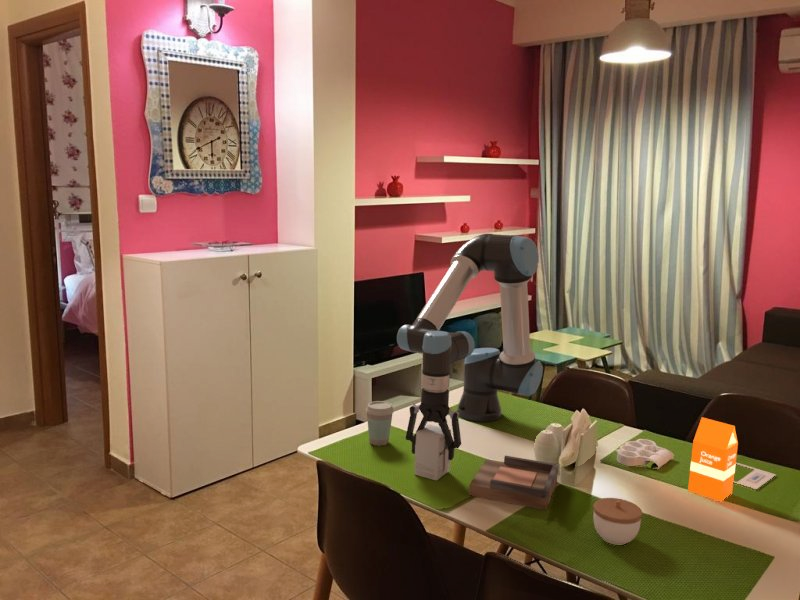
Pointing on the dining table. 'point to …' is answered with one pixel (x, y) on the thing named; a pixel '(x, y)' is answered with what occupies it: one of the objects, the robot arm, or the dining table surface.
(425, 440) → the supplement box
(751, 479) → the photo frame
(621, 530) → the lidded jar
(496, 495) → the dock
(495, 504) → the dining table surface
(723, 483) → the orange juice
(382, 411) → the coffee cup
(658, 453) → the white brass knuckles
